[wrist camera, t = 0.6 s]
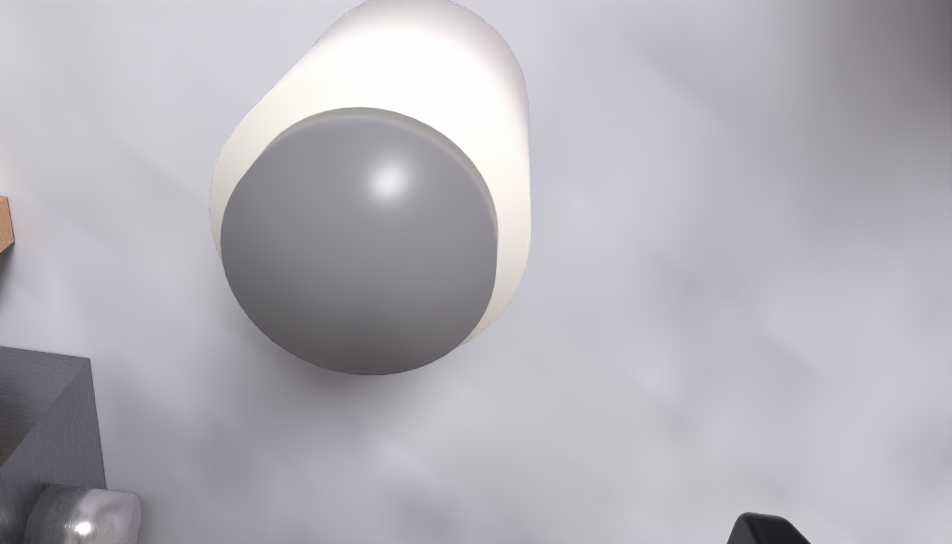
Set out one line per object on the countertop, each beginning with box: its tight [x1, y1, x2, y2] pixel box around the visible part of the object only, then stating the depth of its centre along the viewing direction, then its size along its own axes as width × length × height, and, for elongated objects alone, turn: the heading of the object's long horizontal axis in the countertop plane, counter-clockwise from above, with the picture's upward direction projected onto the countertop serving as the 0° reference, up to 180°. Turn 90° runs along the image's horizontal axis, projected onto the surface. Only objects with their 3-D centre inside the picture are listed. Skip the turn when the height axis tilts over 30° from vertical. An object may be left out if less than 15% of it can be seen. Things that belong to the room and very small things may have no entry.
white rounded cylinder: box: [209, 0, 531, 375], centre depth 15 cm, size 5×5×7 cm
